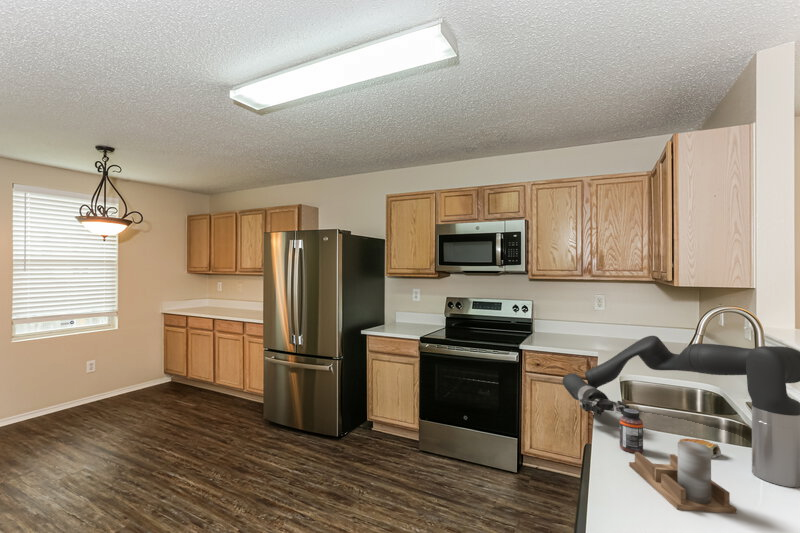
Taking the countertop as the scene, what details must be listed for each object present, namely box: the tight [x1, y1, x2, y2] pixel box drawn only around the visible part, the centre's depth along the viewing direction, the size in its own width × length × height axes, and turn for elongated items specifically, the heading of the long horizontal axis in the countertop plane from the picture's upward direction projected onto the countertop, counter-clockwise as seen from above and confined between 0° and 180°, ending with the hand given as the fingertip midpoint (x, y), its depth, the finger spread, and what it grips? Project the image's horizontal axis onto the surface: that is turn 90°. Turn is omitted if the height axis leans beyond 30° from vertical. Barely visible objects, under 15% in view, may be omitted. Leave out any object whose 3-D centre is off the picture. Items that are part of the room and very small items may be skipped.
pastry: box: [679, 438, 722, 459], centre depth 115 cm, size 9×7×4 cm
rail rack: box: [628, 440, 737, 514], centre depth 94 cm, size 12×20×12 cm, turn 176°
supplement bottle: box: [619, 408, 644, 454], centre depth 115 cm, size 6×6×11 cm
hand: (614, 413), depth 125 cm, fingers open, 8 cm apart
